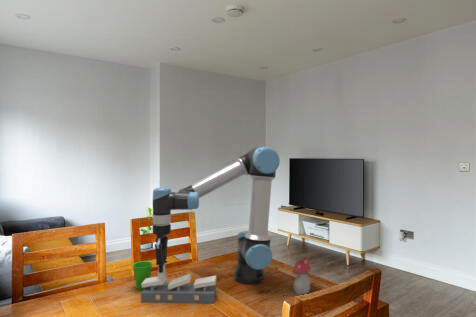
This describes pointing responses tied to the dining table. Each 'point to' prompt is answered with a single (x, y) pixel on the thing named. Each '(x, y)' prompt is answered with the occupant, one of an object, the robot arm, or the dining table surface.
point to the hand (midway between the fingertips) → (161, 279)
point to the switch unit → (178, 294)
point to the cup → (142, 272)
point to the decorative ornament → (301, 277)
